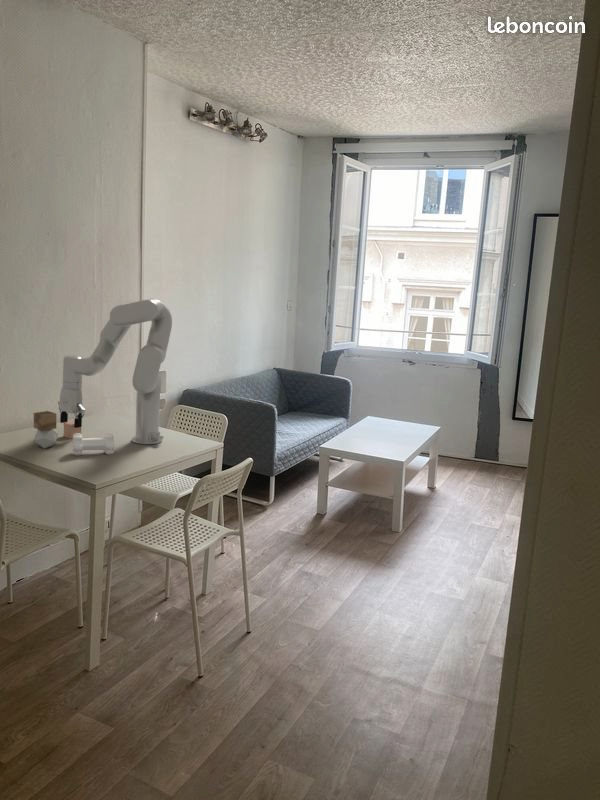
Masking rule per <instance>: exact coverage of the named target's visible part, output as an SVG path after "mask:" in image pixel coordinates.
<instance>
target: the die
mask: <svg viewBox="0 0 600 800" xmlns="http://www.w3.org/2000/svg"><path fill="white" fill-rule="evenodd" d="M36 430H37V431H36V433H35V435H34V439H33V440H32V441H33V442H35V444H37V445H39V446H40V447H42V448H43V449H48V448H51V447H53V446H54V445H55V443H56V441H57V438H58V435H59V434H58V432H56V430H55V429H50V430H44V431H42V430H39V429H36Z"/></svg>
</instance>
